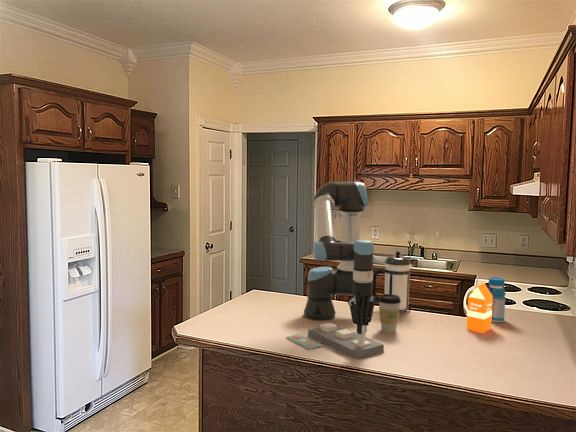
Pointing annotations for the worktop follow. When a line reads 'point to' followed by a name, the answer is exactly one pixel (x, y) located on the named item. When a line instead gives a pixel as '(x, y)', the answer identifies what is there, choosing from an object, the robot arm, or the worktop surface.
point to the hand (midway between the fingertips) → (361, 341)
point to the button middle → (344, 334)
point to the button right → (361, 343)
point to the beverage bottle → (497, 298)
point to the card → (303, 342)
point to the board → (346, 343)
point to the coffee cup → (389, 311)
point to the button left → (328, 327)
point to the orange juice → (479, 309)
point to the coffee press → (396, 279)
